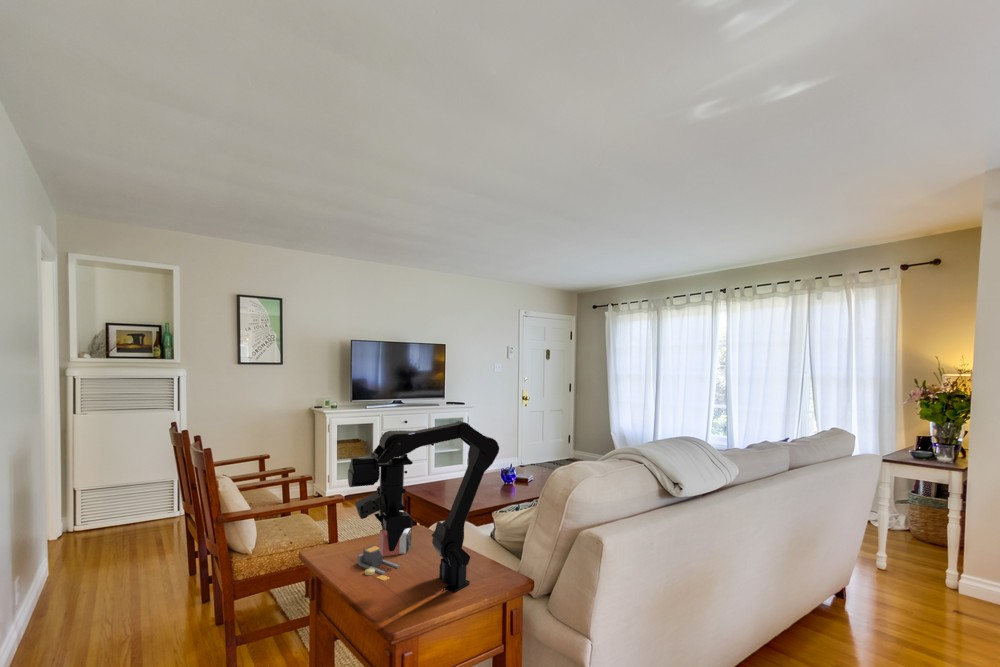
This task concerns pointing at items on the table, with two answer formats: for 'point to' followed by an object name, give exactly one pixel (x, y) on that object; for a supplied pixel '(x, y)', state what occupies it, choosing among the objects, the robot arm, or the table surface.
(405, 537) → the medicine bottle
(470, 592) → the table surface
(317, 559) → the table surface
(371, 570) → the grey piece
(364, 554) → the dark grey cube
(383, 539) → the pink block
